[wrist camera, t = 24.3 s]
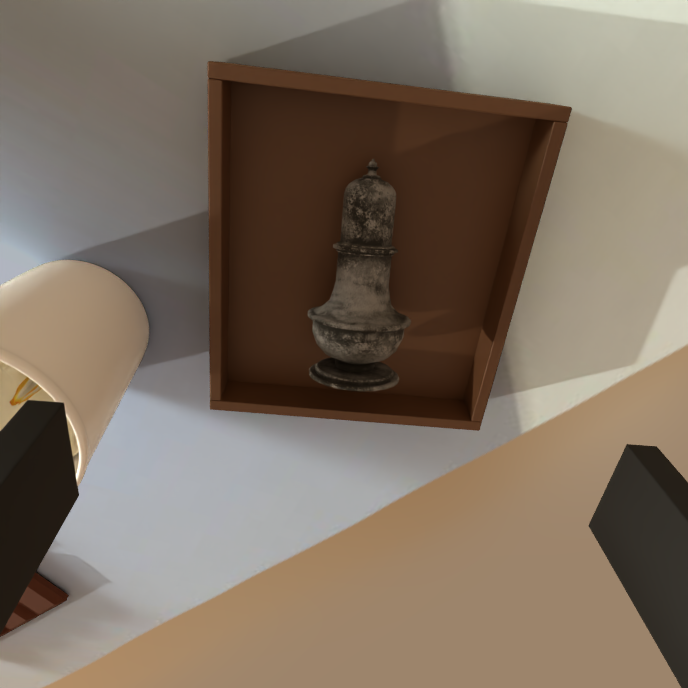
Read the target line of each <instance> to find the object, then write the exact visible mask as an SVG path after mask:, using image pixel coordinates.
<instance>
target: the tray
mask: <svg viewBox="0 0 688 688" xmlns="http://www.w3.org/2000/svg"><path fill="white" fill-rule="evenodd" d="M207 64H208V78H209V79H208V198H209V332H210V409H213V410H226V411H239V412H251V413H264V414H276V415H289V416H302V417H314V418H327V419H339V420H352V421H365V422H377V423H390V424H403V425H415V426H428V427H440V428H453V429H466V430H478V431H479V430H480V426H481V423H482V419H483V416H484V412H485V409H486V405H487V402H488V398H489V395H490V391H491V388H492V384H493V381H494V377H495V374H496V371H497V367H498V364H499V360H500V357H501V353H502V350H503V346H504V343H505V339H506V336H507V332H508V329H509V325H510V322H511V318H512V315H513V311H514V308H515V305H516V301H517V298H518V294H519V291H520V287H521V284H522V280H523V277H524V273H525V270H526V266H527V263H528V259H529V256H530V252H531V249H532V246H533V242H534V239H535V235H536V232H537V228H538V225H539V221H540V218H541V214H542V211H543V207H544V204H545V200H546V197H547V193H548V190H549V187H550V183H551V180H552V176H553V173H554V169H555V166H556V162H557V159H558V155H559V152H560V148H561V145H562V141H563V138H564V134H565V131H566V128H567V123H566V122H568V120H569V117H570V113H571V110H572V108H571V107H568V106H562V105H555V104H549V103H541V102H533V101H525V100H517V99H509V98H502V97H494V96H486V95H478V94H470V93H462V92H454V91H446V90H438V89H430V88H423V87H415V86H407V85H399V84H391V83H383V82H375V81H367V80H359V79H351V78H343V77H336V76H328V75H320V74H312V73H304V72H296V71H288V70H280V69H272V68H264V67H256V66H249V65H241V64H233V63H225V62H213V61H209V62H208V63H207ZM372 159H375V162H376V163H377V166H378V167H379V168H378V169H377V171H376V173H377V175H378V176H380V177H381V178H382V180H384V181H386V182H388V183H389V184H390V185H391V186H392V187H393V188H394V190H395V192H396V207H395V216H394V226H393V236H392V246H394V247H395V249H397V250H398V252H397V253H395V254H394V255H393V256H392V259H391V268H390V278H389V293H390V299H391V305H392V306H393V308H394V309H395V310H396V311H397V312H398V313H401V314H403V315H405V316H407V317H408V318H409V319H410V320H411V324H410V326H409V327H407V328H405V329H404V337H403V339H402V341H401V343H400V345H399V347H398V348H397V350H396V352H394V353H393V354H392V355H391V356H390V357H388V358H387V359H385V360H383V361H379V362H382V363H384V364H386V365H387V366H389V367H390V368H391V369H392V370H393V371H395V372H396V373H397V374H398V376H399V382H398V384H397V385H395V386H394V387H391V388H388V389H385V390H379V391H350V390H343V389H337V388H333V387H329V386H326V385H323V384H321V383H318V382H317V381H315V380H313V379H312V378H311V377H310V375H309V368H310V367H311V366H312V365H314V364H316V363H318V362H319V361H321V360H323V359H326V358H330V356H328V355H326V354H325V353H324V352H323V351H322V349H321V348H320V347H319V346H318V345H317V343H316V341H315V338H314V335H313V332H312V326H313V320H311V319H310V318H309V317H308V310H310V309H311V308H313V307H317V306H322V305H324V304H325V303H326V302H327V301H328V300H330V297H331V294H332V291H333V289H334V285H335V282H336V271H337V258H338V251H337V250H336V248H333V244H336V243H337V242H339V241H340V238H341V225H342V212H343V199H344V192H345V188H346V187H347V186H348V184H349V183H351V182H352V181H354V180H355V179H359V178H362V177H363V175H367V174H368V168H367V167H366V166H369V162H371V160H372Z"/></svg>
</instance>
